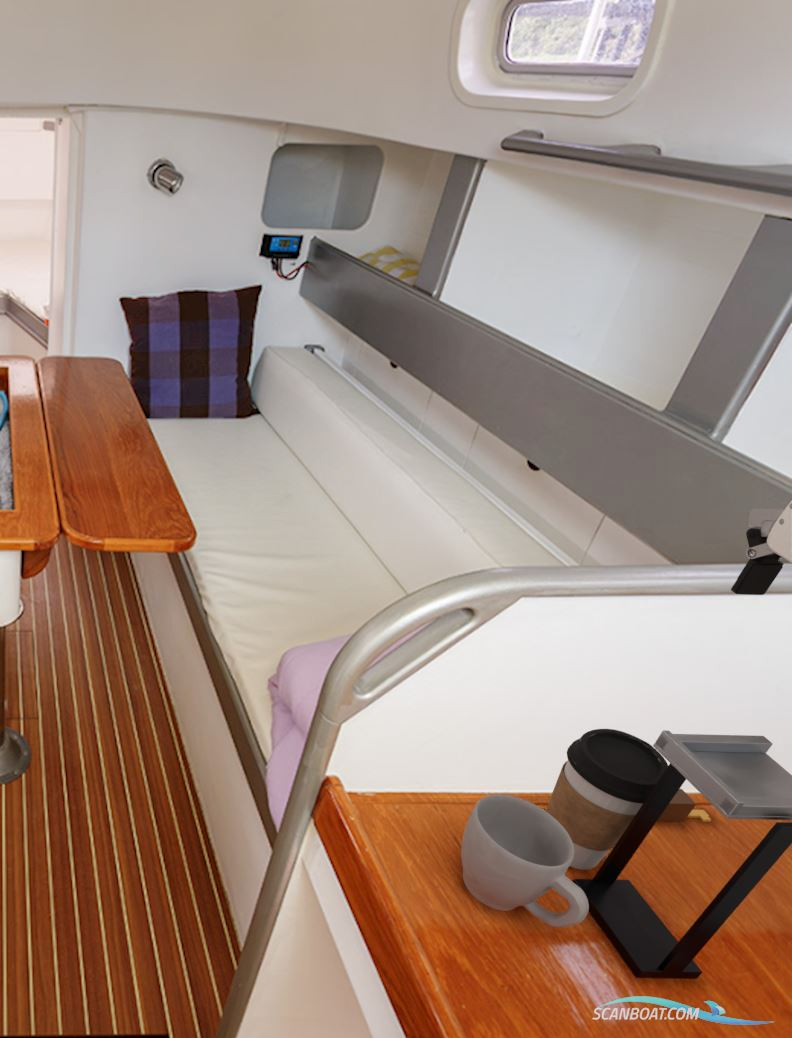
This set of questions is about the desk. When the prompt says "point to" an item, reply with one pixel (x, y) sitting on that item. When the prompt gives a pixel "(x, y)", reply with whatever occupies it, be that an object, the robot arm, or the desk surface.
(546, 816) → the mug
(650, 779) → the coffee cup
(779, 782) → the silver letter tray
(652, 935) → the stand
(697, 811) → the key
